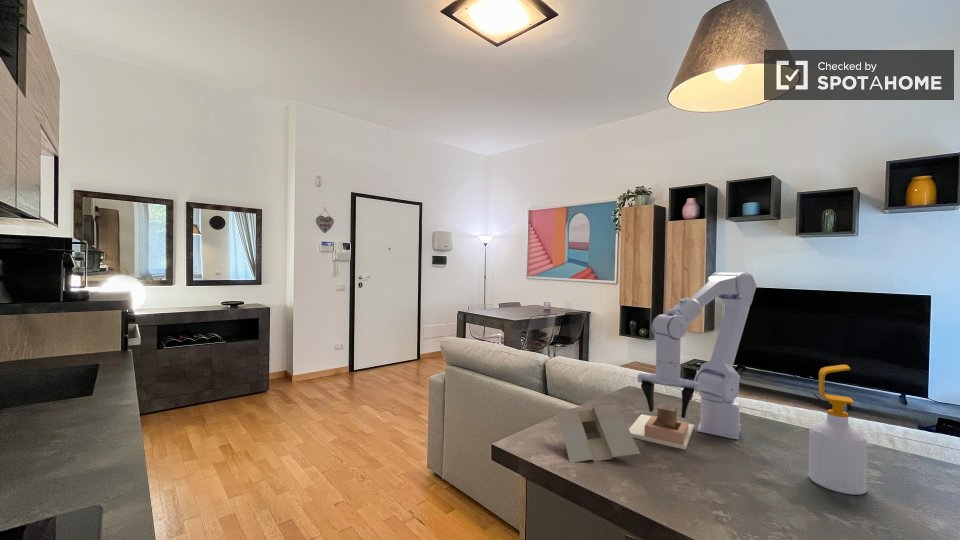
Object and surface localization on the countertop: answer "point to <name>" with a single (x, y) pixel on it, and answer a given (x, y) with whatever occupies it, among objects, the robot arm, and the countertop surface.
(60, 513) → the countertop surface
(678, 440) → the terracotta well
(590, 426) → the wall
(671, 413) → the walnut block
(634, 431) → the cream board
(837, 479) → the soap bottle
